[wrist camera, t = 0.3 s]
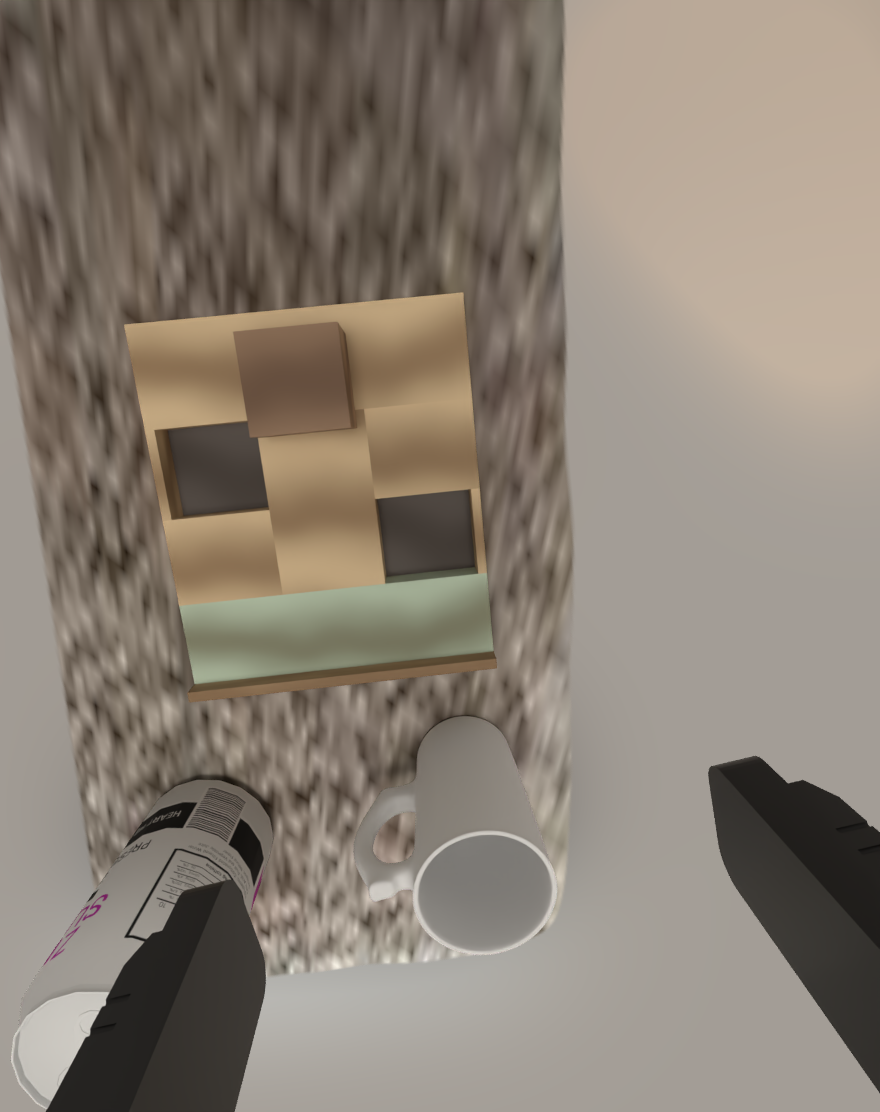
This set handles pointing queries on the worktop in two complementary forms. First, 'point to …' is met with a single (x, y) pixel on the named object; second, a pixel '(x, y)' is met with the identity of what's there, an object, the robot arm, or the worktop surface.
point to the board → (321, 505)
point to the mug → (465, 843)
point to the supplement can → (135, 917)
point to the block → (295, 379)
